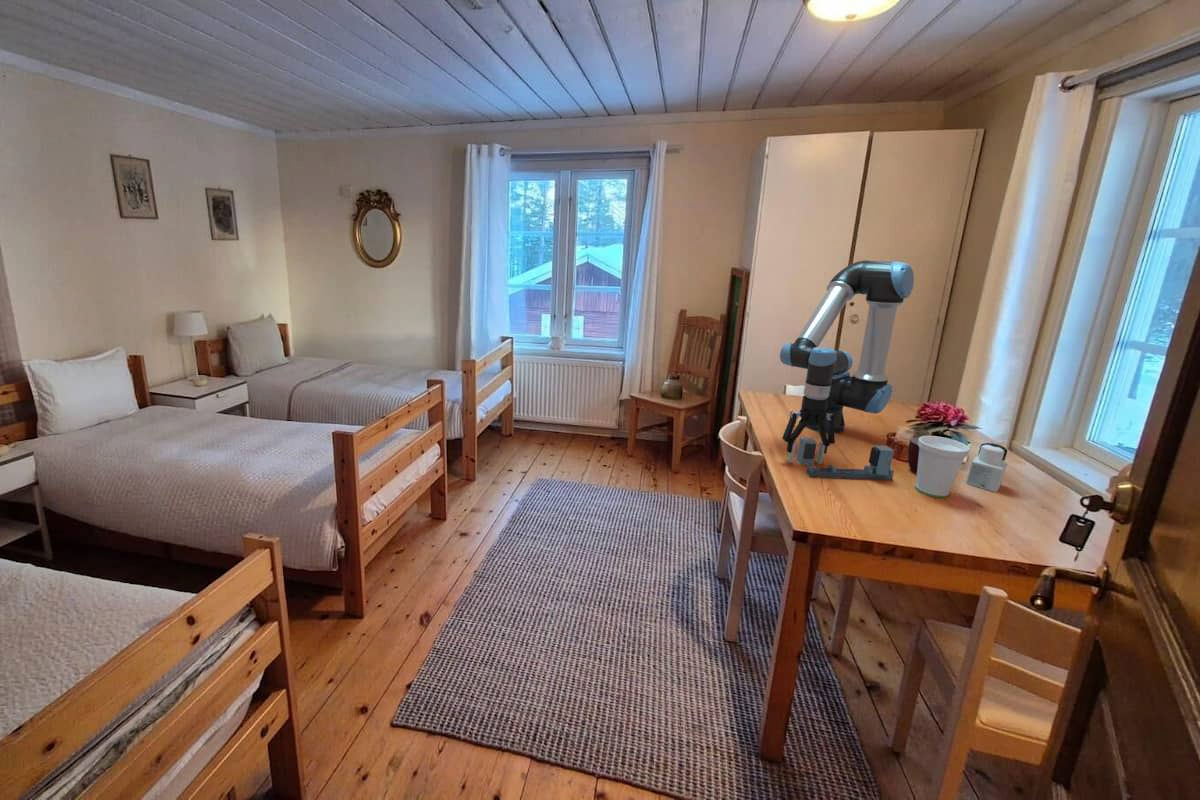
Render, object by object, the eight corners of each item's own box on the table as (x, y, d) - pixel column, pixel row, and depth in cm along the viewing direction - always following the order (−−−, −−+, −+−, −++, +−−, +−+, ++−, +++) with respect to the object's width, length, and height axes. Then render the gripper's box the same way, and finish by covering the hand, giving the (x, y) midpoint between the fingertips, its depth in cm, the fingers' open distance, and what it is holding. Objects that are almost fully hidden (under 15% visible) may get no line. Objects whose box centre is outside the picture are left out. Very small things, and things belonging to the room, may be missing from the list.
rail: (805, 472, 159) (810, 442, 156) (885, 475, 159) (892, 446, 156) (810, 477, 155) (815, 447, 152) (892, 481, 155) (899, 451, 153)
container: (971, 476, 161) (981, 438, 157) (1001, 485, 156) (1012, 446, 152) (965, 483, 156) (976, 444, 152) (996, 492, 150) (1008, 452, 147)
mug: (936, 481, 156) (944, 452, 153) (907, 476, 159) (914, 447, 156) (929, 469, 166) (936, 440, 163) (901, 464, 168) (908, 436, 165)
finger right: (808, 460, 169) (812, 438, 166) (813, 466, 164) (817, 443, 162) (796, 459, 169) (799, 437, 166) (801, 465, 164) (805, 442, 162)
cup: (912, 496, 146) (924, 447, 142) (903, 478, 157) (914, 433, 153) (962, 504, 142) (976, 454, 138) (949, 486, 153) (962, 439, 149)
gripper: (786, 398, 156) (775, 465, 163) (855, 401, 157) (842, 467, 163) (778, 392, 164) (768, 456, 170) (844, 394, 164) (832, 458, 170)
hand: (804, 461), depth 167 cm, fingers open, 9 cm apart
